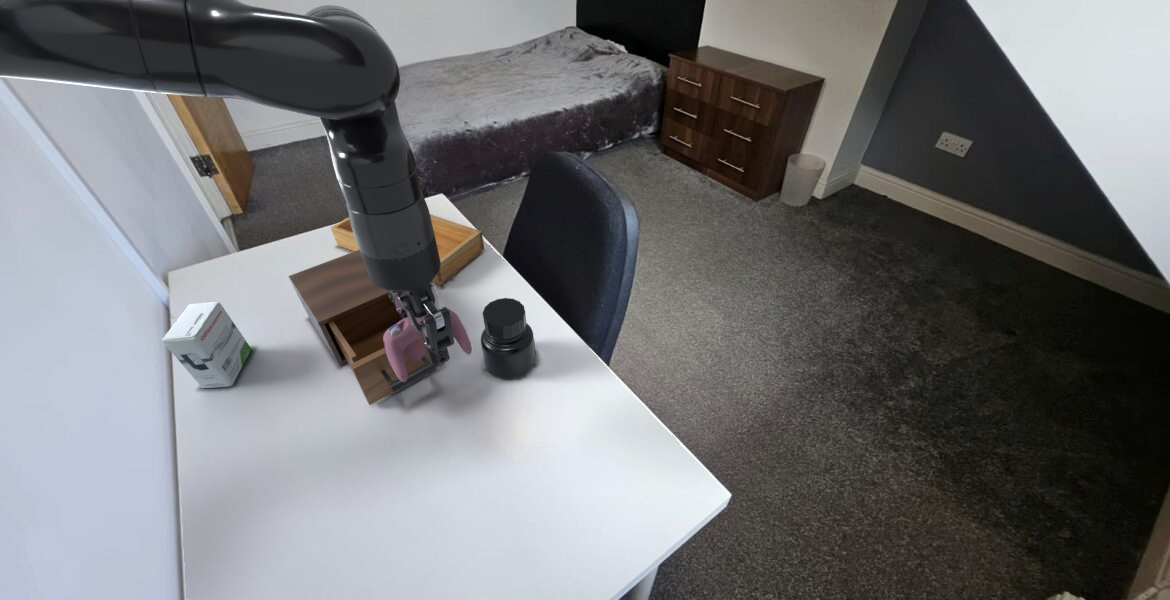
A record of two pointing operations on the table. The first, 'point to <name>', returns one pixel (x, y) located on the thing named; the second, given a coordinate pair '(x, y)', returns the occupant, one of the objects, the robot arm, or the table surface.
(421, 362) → the drawer
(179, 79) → the robot arm
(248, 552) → the table surface
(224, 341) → the ink box
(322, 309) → the cabinet
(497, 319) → the ink bottle
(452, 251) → the tray
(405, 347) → the video game controller
